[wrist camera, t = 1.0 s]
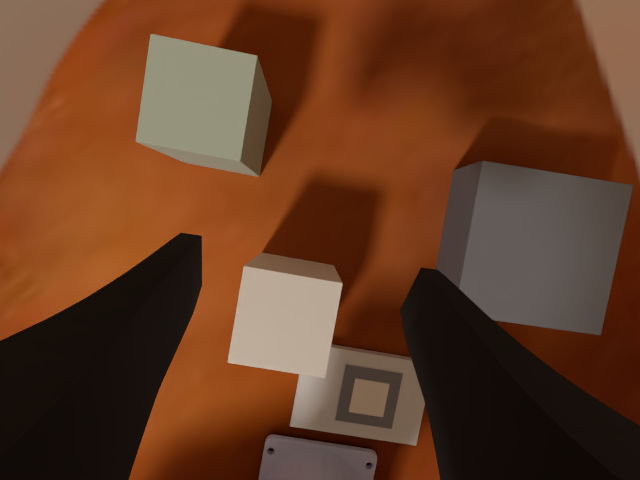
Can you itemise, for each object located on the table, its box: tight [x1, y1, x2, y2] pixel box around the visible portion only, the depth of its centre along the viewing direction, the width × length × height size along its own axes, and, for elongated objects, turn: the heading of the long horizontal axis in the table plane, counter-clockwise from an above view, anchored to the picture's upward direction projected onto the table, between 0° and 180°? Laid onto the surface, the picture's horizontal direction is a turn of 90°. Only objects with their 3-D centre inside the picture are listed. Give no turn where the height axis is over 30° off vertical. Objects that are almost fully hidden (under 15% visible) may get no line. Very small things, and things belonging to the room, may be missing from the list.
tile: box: [290, 344, 425, 446], centre depth 22 cm, size 6×9×1 cm, turn 80°
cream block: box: [228, 253, 343, 378], centre depth 19 cm, size 5×5×6 cm
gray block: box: [436, 161, 633, 335], centre depth 20 cm, size 9×9×4 cm
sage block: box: [136, 34, 272, 177], centre depth 18 cm, size 5×5×6 cm
